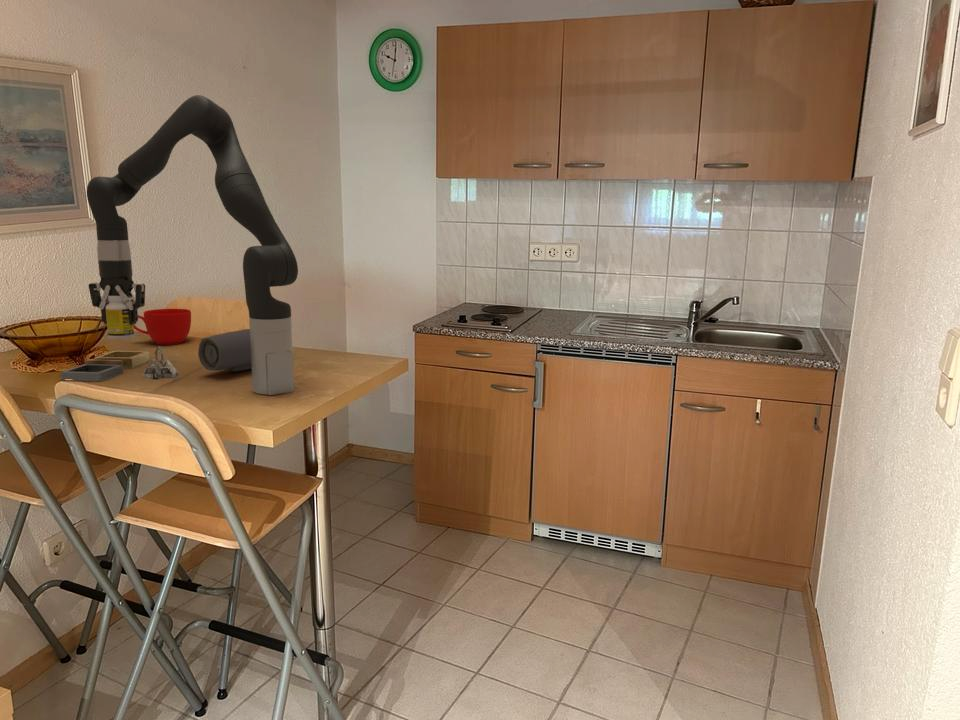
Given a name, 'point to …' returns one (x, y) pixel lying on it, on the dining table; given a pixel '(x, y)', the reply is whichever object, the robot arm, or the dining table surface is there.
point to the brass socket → (127, 357)
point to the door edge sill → (105, 362)
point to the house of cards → (158, 372)
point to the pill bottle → (118, 319)
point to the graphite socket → (92, 372)
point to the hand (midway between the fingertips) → (120, 323)
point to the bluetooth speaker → (226, 351)
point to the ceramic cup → (166, 325)
